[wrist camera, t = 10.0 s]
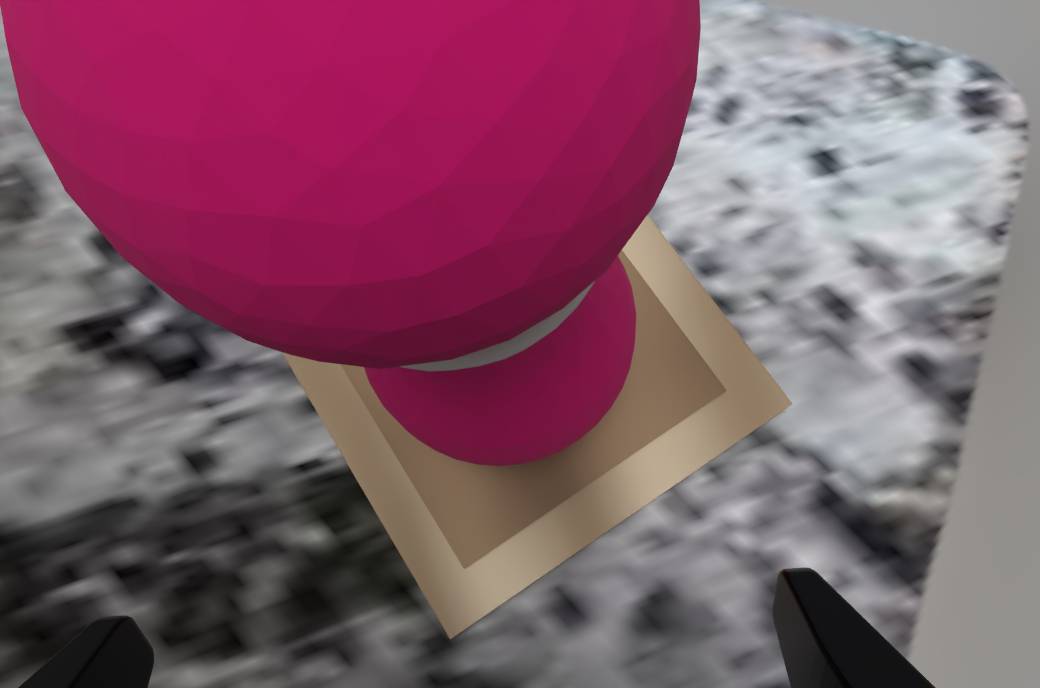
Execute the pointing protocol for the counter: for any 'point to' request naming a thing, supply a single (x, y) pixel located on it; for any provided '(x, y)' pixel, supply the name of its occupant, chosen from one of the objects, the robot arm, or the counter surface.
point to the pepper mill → (381, 183)
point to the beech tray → (566, 474)
